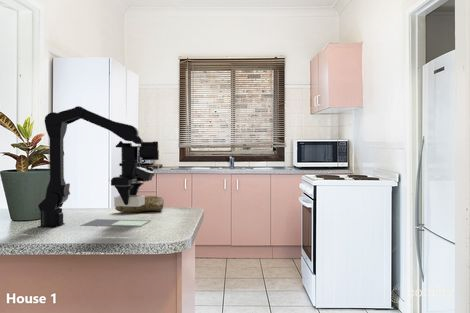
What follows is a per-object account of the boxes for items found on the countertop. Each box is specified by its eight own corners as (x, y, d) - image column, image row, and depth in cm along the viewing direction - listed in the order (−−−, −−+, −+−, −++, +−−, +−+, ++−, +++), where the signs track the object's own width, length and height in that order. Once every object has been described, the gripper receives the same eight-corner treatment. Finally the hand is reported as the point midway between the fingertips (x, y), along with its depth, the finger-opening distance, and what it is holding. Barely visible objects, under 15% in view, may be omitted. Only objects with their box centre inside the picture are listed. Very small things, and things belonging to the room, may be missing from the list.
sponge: (161, 211, 175) (116, 203, 170) (164, 195, 174) (119, 187, 169) (161, 222, 162) (112, 214, 158) (164, 204, 161) (116, 196, 157)
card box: (138, 206, 135) (138, 197, 135) (114, 206, 136) (114, 196, 136) (144, 204, 141) (144, 195, 141) (121, 203, 142) (121, 194, 142)
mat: (79, 226, 134) (79, 225, 134) (96, 220, 146) (96, 218, 146) (140, 228, 132) (140, 226, 132) (152, 221, 144) (152, 220, 144)
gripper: (141, 161, 128) (142, 208, 128) (159, 159, 146) (159, 200, 147) (110, 161, 129) (110, 207, 129) (131, 159, 148) (131, 199, 148)
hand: (129, 203), depth 138 cm, fingers closed on card box, 6 cm apart
